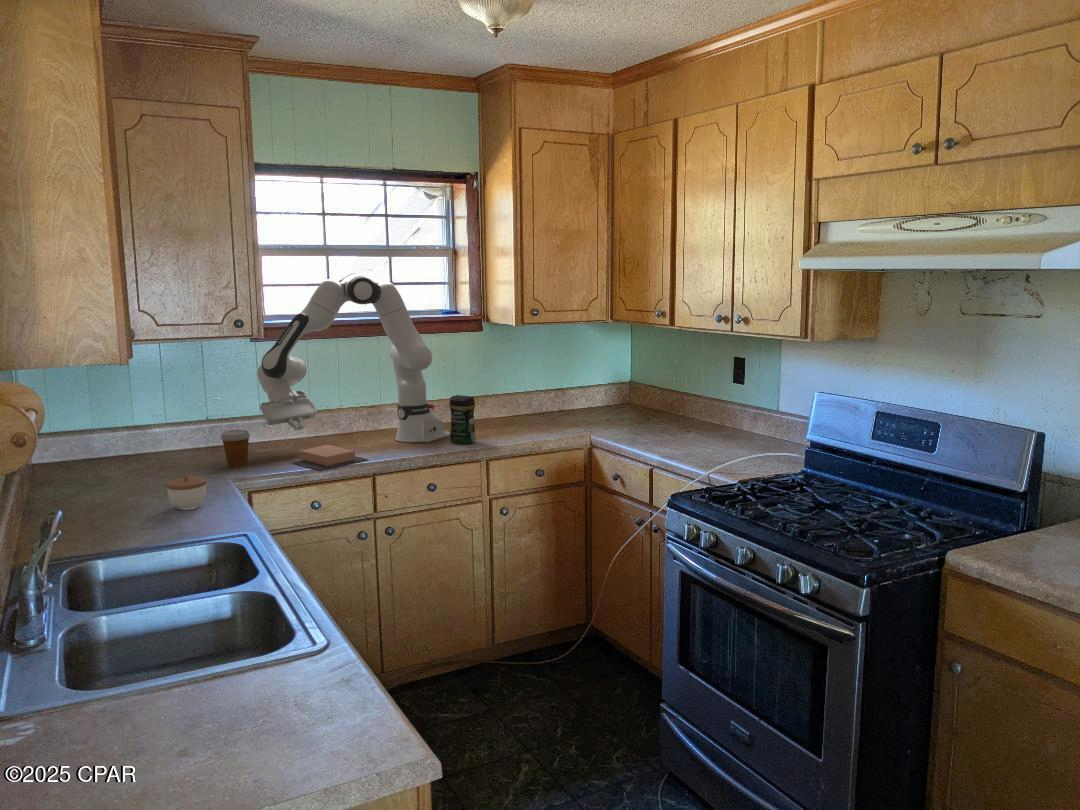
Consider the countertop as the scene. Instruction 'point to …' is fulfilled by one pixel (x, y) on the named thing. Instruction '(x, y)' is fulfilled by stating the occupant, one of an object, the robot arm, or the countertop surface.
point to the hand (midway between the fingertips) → (299, 429)
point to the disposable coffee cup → (236, 447)
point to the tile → (327, 455)
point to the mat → (322, 467)
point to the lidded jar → (186, 491)
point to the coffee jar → (462, 419)
